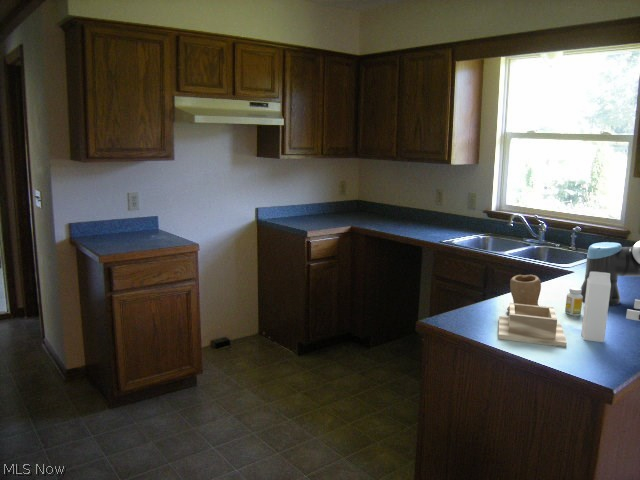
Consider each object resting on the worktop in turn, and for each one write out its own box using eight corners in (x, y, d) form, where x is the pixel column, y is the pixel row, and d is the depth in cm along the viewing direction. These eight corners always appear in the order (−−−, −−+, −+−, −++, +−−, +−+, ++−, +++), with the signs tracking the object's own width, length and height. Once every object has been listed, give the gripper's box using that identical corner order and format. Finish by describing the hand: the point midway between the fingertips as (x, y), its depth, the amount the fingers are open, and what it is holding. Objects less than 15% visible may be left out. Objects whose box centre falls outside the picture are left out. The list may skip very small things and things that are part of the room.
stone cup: (502, 315, 197) (505, 275, 194) (511, 308, 207) (514, 269, 204) (545, 324, 189) (550, 282, 186) (553, 315, 198) (557, 276, 196)
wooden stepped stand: (498, 319, 192) (500, 299, 191) (560, 326, 186) (562, 305, 185) (498, 338, 174) (500, 316, 172) (566, 347, 168) (568, 324, 166)
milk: (581, 334, 180) (587, 269, 176) (601, 336, 178) (608, 270, 174) (583, 340, 174) (590, 273, 170) (604, 342, 172) (612, 275, 168)
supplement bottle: (563, 313, 201) (566, 288, 199) (566, 310, 205) (569, 285, 203) (579, 316, 197) (581, 291, 196) (582, 313, 202) (584, 288, 200)
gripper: (709, 348, 146) (621, 330, 159) (715, 325, 165) (636, 310, 178) (714, 321, 145) (624, 305, 158) (719, 301, 164) (638, 288, 177)
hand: (630, 308), depth 168 cm, fingers open, 13 cm apart
